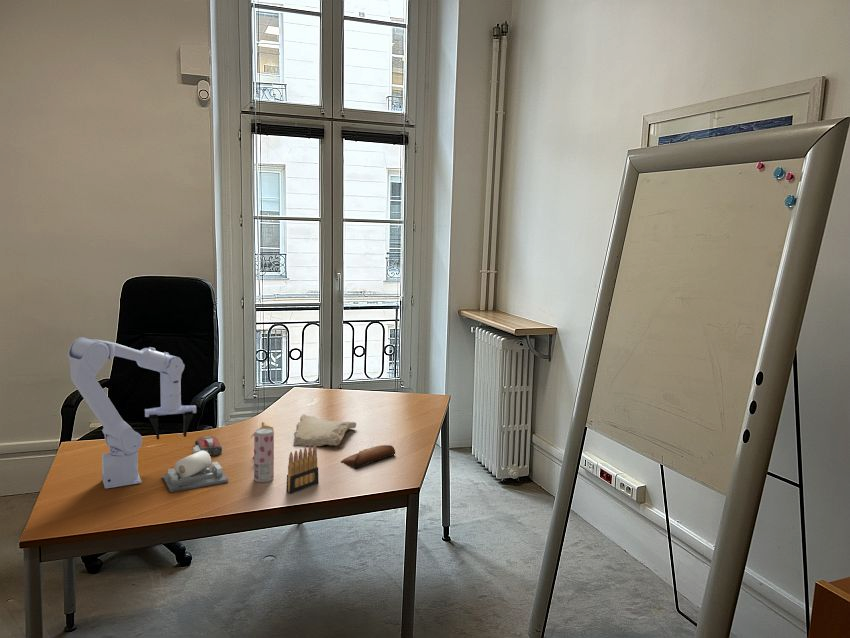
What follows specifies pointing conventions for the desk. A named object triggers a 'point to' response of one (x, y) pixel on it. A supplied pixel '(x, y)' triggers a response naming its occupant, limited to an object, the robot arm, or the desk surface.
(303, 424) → the flat sandstone slab
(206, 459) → the paper roll
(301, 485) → the ammunition clip
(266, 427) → the figurine
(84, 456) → the desk surface
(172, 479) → the roll cradle
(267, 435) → the beverage can
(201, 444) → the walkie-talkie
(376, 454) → the sunglasses case
